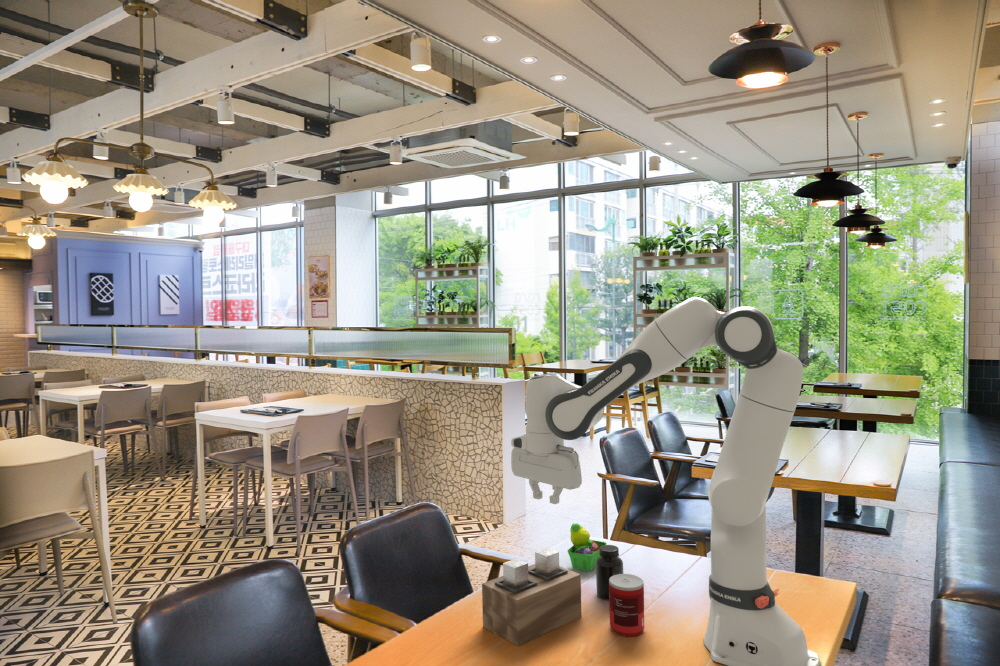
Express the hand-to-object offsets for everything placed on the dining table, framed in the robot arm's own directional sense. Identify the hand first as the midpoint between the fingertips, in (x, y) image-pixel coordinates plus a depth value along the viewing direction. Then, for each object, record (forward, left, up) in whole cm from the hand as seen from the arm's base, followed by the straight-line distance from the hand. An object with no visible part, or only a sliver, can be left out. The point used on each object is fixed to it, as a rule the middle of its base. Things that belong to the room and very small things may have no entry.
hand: (546, 500), depth 155 cm
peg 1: (0, +10, -21) cm, 23 cm away
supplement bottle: (-3, -19, -27) cm, 33 cm away
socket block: (0, +5, -27) cm, 28 cm away
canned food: (-17, -8, -27) cm, 33 cm away
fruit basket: (+15, -30, -27) cm, 43 cm away
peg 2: (0, 0, -21) cm, 21 cm away
